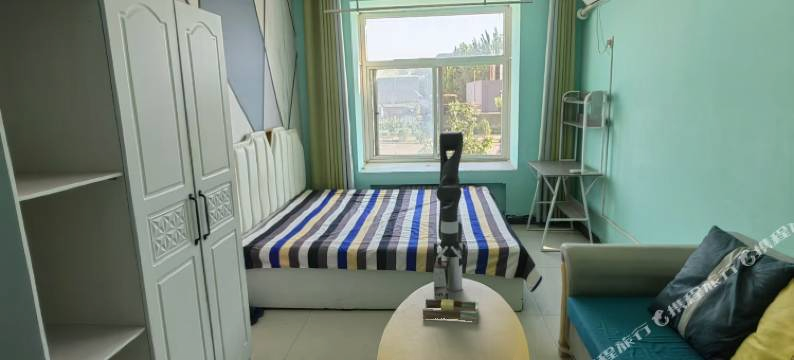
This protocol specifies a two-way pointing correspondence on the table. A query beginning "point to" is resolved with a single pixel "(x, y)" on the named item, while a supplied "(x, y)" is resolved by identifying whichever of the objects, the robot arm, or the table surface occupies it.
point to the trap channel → (461, 311)
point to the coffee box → (441, 280)
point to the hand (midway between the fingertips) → (450, 265)
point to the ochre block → (447, 304)
